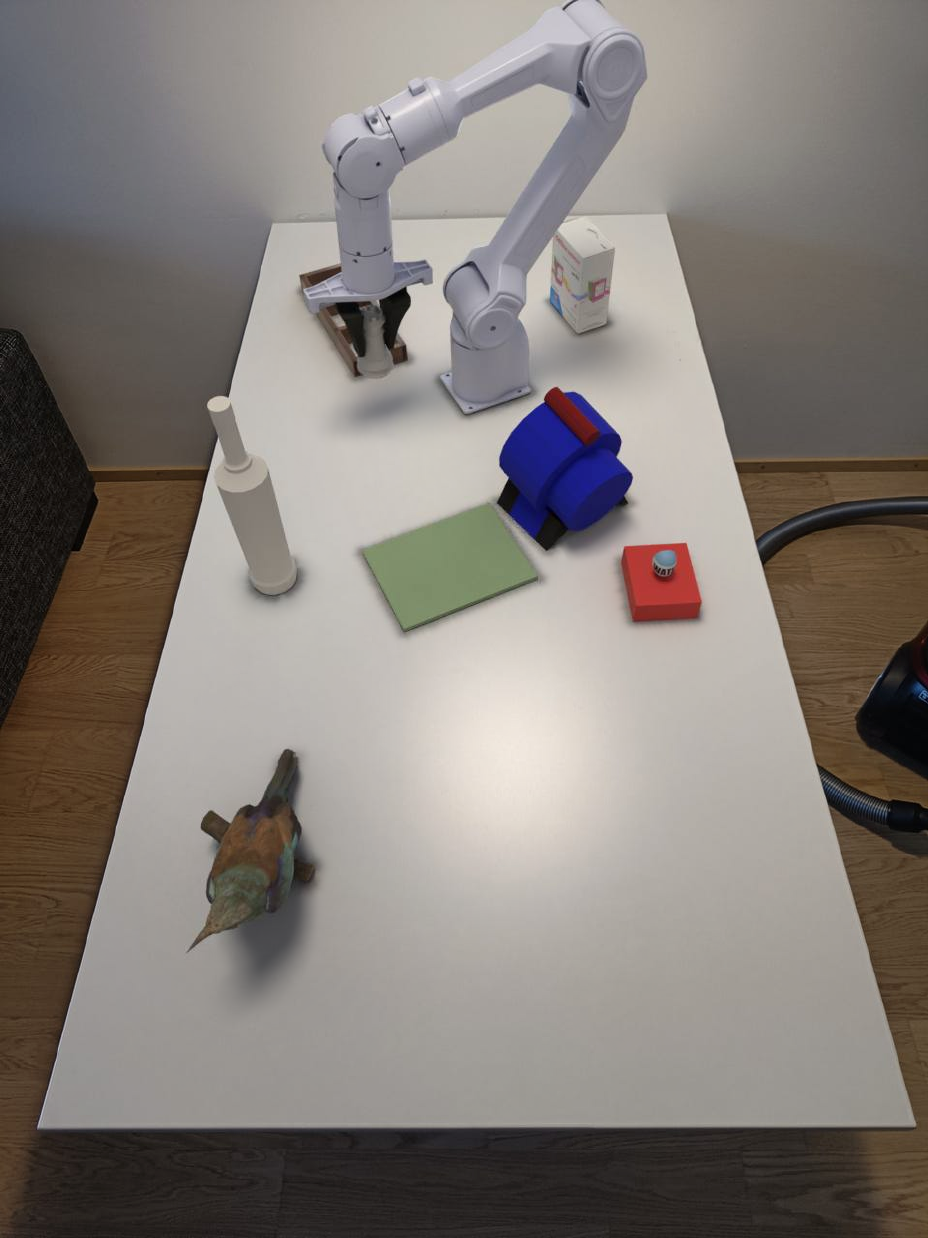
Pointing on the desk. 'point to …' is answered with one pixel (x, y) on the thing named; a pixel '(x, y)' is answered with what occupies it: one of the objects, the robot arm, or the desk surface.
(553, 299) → the ink box
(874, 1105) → the desk surface
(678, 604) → the red rectangular block
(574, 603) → the desk surface
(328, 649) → the desk surface
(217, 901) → the bird figurine
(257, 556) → the bottle
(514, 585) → the mat
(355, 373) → the rack
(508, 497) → the electric motor
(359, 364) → the rook chess piece
